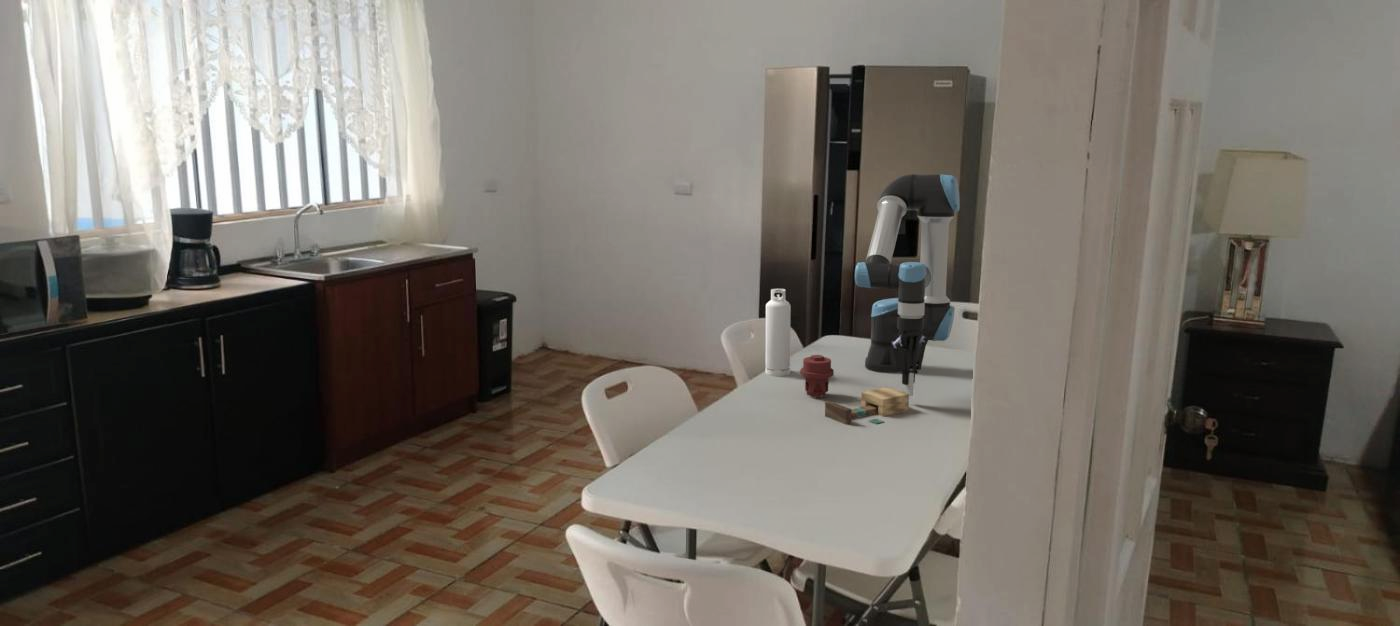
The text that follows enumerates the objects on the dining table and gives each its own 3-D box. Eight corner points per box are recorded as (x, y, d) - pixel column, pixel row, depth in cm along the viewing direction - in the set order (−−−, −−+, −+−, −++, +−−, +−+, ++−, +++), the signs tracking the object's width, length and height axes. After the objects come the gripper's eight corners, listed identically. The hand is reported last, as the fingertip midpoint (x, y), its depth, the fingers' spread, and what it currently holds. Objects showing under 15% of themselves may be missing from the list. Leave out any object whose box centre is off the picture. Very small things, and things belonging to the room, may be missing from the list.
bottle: (789, 369, 326) (790, 287, 320) (789, 376, 318) (790, 292, 312) (765, 369, 327) (766, 287, 321) (764, 375, 319) (765, 291, 313)
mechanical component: (831, 390, 301) (834, 400, 291) (798, 391, 301) (801, 400, 291) (831, 352, 298) (835, 360, 288) (799, 352, 298) (802, 360, 289)
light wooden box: (886, 403, 288) (887, 386, 287) (908, 410, 280) (908, 394, 279) (861, 408, 283) (861, 392, 282) (882, 416, 275) (882, 399, 274)
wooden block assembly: (879, 398, 292) (879, 385, 291) (922, 413, 277) (922, 400, 276) (815, 412, 279) (815, 398, 279) (856, 428, 264) (856, 414, 264)
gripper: (917, 311, 287) (914, 388, 292) (885, 316, 281) (882, 395, 285) (936, 315, 281) (933, 394, 286) (903, 320, 274) (900, 401, 279)
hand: (907, 394), depth 285 cm, fingers closed
